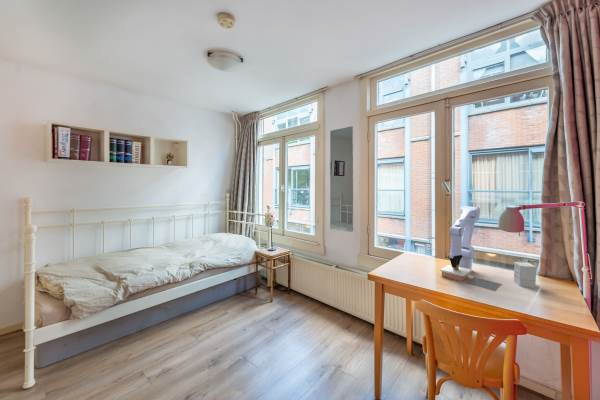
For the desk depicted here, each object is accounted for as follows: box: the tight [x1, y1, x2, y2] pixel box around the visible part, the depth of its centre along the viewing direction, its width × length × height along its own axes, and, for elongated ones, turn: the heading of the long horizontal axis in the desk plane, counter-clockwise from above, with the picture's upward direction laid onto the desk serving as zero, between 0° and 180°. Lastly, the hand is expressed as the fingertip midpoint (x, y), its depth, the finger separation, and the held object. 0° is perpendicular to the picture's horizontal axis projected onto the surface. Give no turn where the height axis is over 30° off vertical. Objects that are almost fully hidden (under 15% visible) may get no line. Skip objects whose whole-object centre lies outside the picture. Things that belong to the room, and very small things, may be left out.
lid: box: [439, 264, 473, 276], centre depth 155 cm, size 13×13×4 cm
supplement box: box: [513, 261, 537, 289], centre depth 143 cm, size 7×7×13 cm
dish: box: [441, 271, 469, 282], centre depth 156 cm, size 11×11×4 cm
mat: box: [466, 276, 503, 292], centre depth 145 cm, size 14×14×1 cm
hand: (455, 266), depth 155 cm, fingers open, 3 cm apart
